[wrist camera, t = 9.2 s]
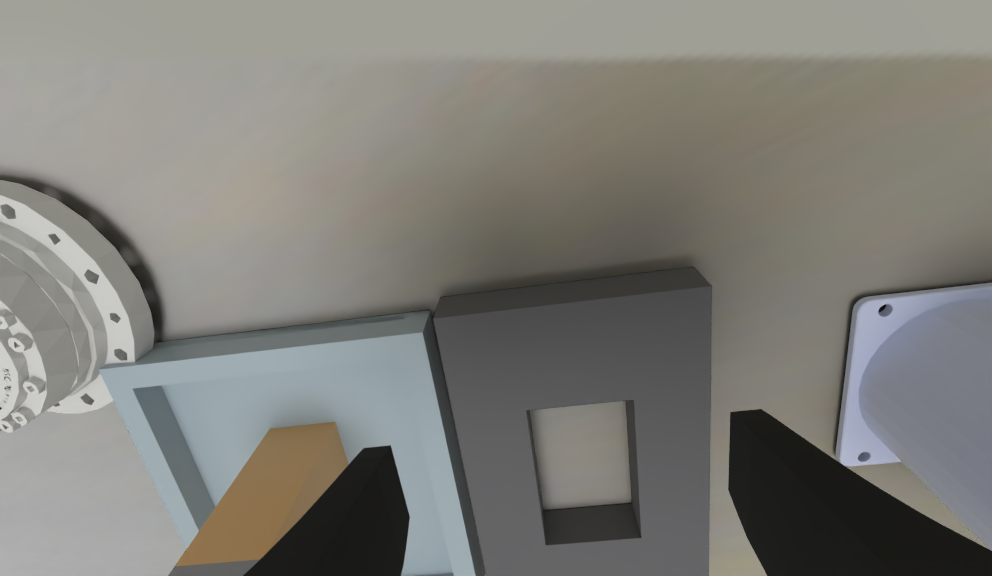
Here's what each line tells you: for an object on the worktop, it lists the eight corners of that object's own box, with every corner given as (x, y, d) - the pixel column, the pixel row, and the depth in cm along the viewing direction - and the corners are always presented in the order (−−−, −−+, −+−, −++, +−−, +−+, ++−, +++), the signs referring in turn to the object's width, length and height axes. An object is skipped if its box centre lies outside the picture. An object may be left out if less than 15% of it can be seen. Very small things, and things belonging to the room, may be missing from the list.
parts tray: (430, 309, 21) (422, 332, 20) (485, 574, 27) (483, 611, 25) (132, 345, 22) (98, 369, 21) (244, 592, 28) (225, 629, 26)
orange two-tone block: (335, 421, 23) (249, 587, 16) (367, 525, 25) (306, 714, 18) (269, 428, 23) (154, 595, 16) (307, 530, 25) (222, 718, 18)
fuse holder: (693, 266, 20) (711, 286, 18) (694, 566, 26) (708, 603, 24) (440, 297, 21) (433, 318, 19) (496, 580, 27) (495, 618, 25)
